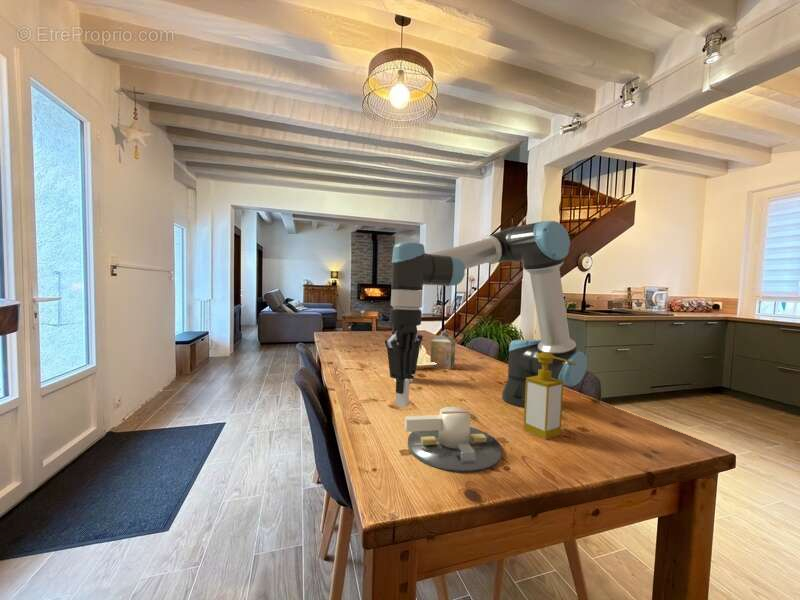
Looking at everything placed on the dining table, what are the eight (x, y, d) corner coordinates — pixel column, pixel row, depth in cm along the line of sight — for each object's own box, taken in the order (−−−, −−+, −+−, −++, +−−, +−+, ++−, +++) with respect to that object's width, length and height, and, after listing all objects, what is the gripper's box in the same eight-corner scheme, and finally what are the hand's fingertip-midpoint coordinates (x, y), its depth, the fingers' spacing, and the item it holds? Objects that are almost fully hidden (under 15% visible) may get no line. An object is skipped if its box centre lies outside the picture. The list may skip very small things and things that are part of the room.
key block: (478, 432, 91) (479, 405, 91) (491, 446, 83) (492, 416, 83) (402, 436, 87) (403, 407, 87) (408, 451, 79) (409, 419, 79)
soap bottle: (564, 448, 86) (568, 360, 85) (523, 429, 97) (527, 351, 96) (579, 442, 90) (584, 357, 89) (538, 425, 101) (542, 349, 100)
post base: (478, 425, 99) (478, 413, 99) (520, 468, 76) (521, 453, 76) (400, 428, 95) (400, 415, 95) (419, 475, 72) (419, 459, 72)
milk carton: (450, 370, 165) (451, 332, 165) (430, 367, 169) (431, 331, 168) (454, 365, 175) (455, 330, 174) (435, 363, 179) (436, 328, 178)
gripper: (408, 306, 86) (404, 395, 86) (376, 307, 75) (372, 409, 76) (433, 308, 81) (429, 402, 82) (403, 310, 71) (398, 417, 71)
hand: (401, 405), depth 79 cm, fingers closed
